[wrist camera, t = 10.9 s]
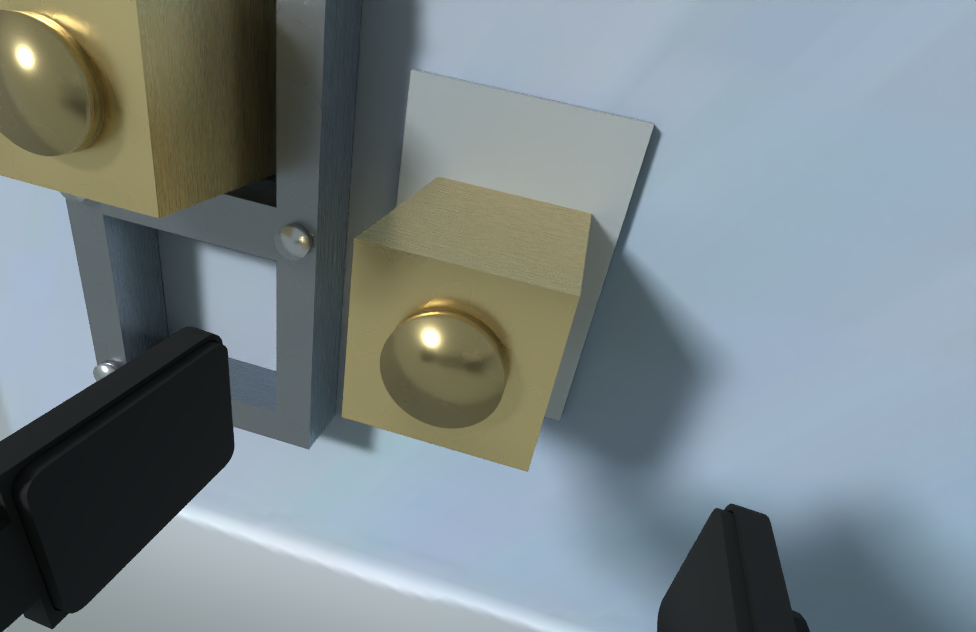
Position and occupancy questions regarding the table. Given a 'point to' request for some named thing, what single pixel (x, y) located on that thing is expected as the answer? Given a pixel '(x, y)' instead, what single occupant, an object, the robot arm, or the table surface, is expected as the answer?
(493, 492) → the table surface
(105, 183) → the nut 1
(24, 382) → the table surface
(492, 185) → the mat
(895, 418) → the table surface
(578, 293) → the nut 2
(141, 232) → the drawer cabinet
